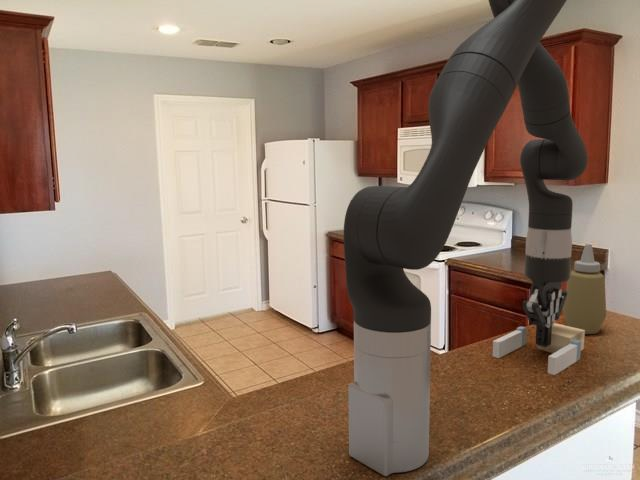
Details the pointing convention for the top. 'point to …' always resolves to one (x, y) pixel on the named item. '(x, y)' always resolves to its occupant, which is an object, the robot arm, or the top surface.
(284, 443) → the top surface
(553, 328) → the maple block
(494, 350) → the corridor
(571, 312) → the squeeze bottle
